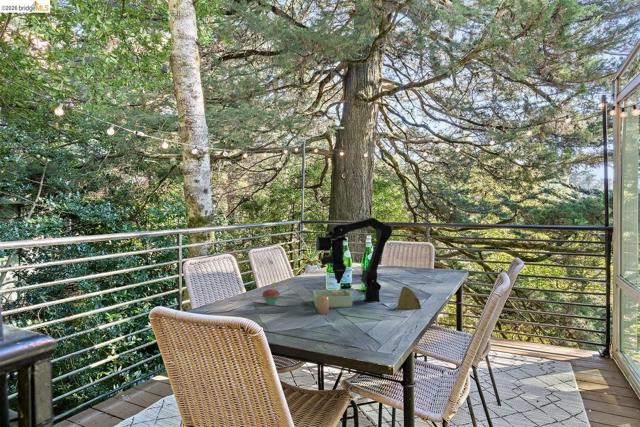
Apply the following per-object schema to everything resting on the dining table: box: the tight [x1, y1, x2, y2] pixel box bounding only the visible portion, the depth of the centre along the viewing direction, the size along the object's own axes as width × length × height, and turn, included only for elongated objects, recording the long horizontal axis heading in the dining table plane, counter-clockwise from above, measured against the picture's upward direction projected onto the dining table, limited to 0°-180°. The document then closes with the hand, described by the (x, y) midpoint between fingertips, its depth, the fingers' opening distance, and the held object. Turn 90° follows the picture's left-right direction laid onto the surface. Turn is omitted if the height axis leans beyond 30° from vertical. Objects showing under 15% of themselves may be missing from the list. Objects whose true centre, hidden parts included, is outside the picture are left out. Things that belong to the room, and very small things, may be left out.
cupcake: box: [261, 280, 281, 306], centre depth 201 cm, size 9×8×12 cm
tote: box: [312, 289, 353, 309], centre depth 200 cm, size 18×14×5 cm
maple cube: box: [332, 291, 344, 297], centre depth 201 cm, size 5×5×5 cm
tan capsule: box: [317, 296, 330, 315], centre depth 186 cm, size 5×5×7 cm
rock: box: [396, 286, 422, 310], centre depth 191 cm, size 11×9×10 cm
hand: (337, 281), depth 200 cm, fingers open, 9 cm apart
